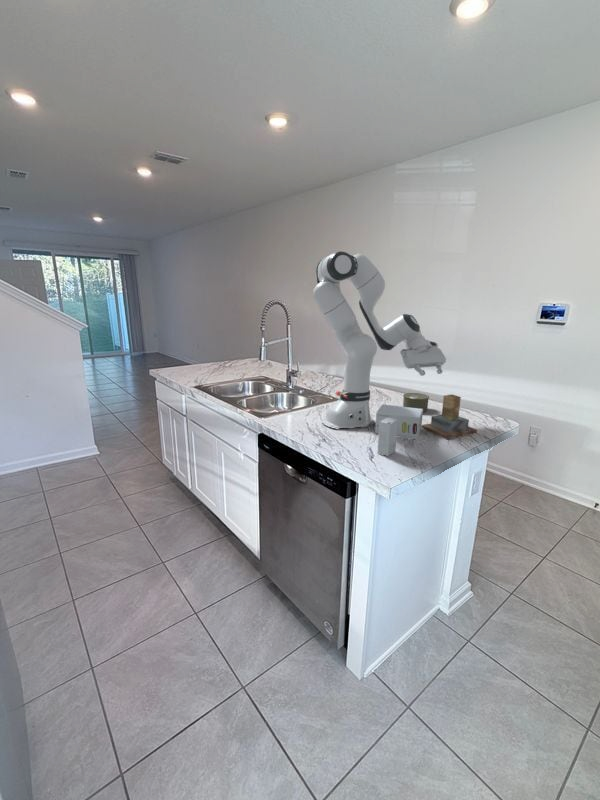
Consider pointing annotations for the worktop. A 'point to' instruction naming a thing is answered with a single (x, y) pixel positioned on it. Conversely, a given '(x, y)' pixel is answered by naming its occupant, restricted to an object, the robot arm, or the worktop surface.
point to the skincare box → (387, 436)
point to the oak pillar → (451, 406)
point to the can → (416, 401)
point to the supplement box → (402, 419)
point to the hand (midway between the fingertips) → (432, 374)
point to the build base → (448, 435)
